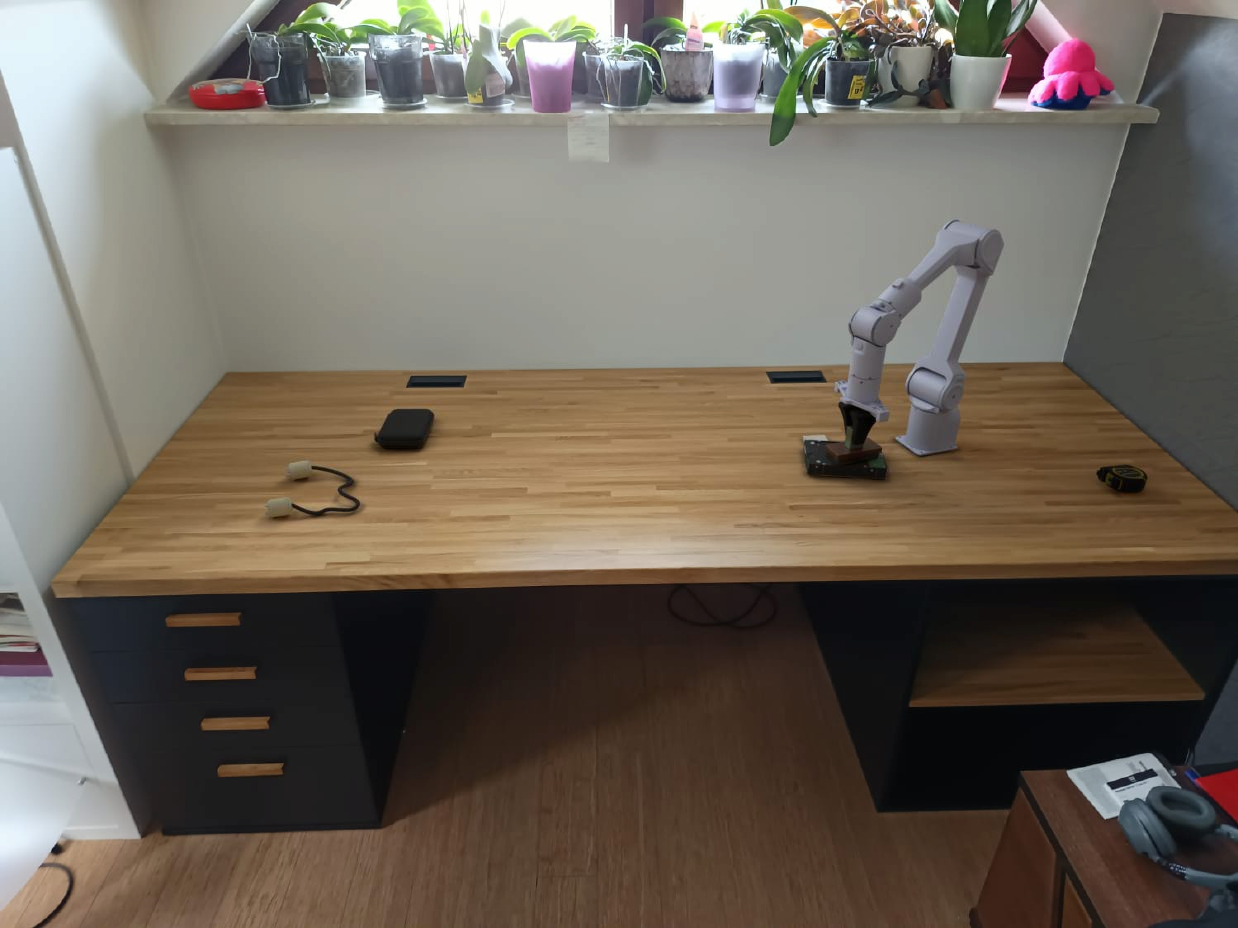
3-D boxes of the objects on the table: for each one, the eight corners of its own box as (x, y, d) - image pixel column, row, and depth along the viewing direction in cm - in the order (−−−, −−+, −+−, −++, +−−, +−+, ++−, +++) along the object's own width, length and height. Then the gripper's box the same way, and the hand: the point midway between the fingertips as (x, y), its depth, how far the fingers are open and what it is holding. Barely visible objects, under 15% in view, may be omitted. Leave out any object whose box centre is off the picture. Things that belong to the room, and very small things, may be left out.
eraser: (829, 441, 175) (828, 445, 176) (824, 434, 178) (824, 439, 178) (807, 442, 175) (806, 446, 175) (803, 435, 177) (802, 439, 178)
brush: (866, 448, 168) (871, 418, 165) (880, 459, 165) (885, 428, 161) (823, 456, 165) (827, 425, 162) (836, 467, 162) (841, 436, 159)
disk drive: (806, 477, 164) (887, 480, 163) (808, 464, 163) (889, 467, 162) (802, 451, 174) (878, 454, 172) (803, 438, 172) (880, 441, 171)
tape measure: (1125, 477, 165) (1131, 460, 163) (1151, 496, 159) (1157, 478, 157) (1093, 480, 164) (1098, 463, 162) (1118, 499, 158) (1123, 481, 156)
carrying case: (386, 418, 185) (370, 451, 172) (384, 405, 183) (368, 437, 170) (436, 418, 185) (424, 451, 172) (435, 405, 183) (423, 437, 171)
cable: (372, 471, 165) (370, 455, 163) (357, 517, 151) (354, 500, 149) (288, 473, 164) (285, 457, 162) (264, 520, 149) (260, 503, 148)
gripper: (824, 362, 161) (815, 427, 168) (869, 392, 150) (858, 461, 156) (857, 357, 164) (847, 422, 170) (904, 386, 152) (891, 455, 158)
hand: (854, 440), depth 163 cm, fingers closed on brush
